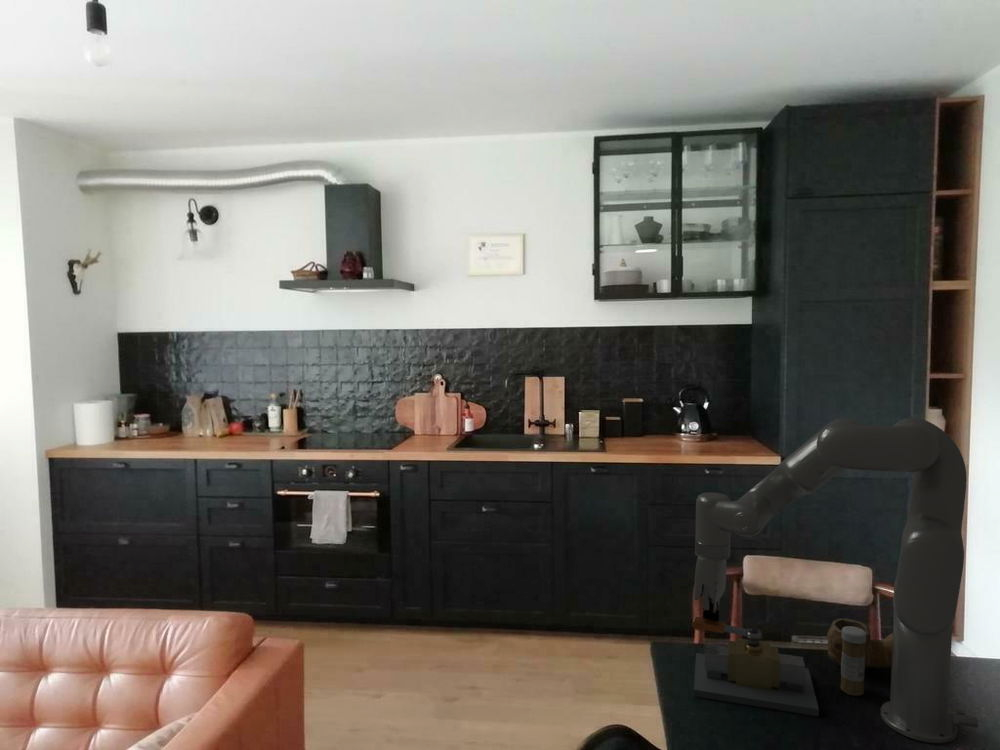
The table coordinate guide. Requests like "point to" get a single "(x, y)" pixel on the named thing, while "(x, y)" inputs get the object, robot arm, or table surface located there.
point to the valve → (754, 665)
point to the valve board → (755, 692)
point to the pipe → (875, 650)
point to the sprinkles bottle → (853, 660)
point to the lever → (726, 628)
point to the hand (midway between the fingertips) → (710, 626)
